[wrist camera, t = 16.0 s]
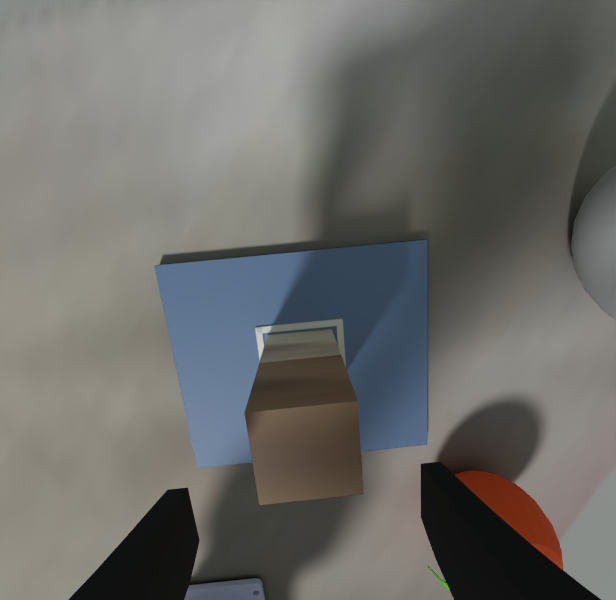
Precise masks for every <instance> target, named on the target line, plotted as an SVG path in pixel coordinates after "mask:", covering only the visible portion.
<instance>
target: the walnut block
mask: <svg viewBox="0 0 616 600" xmlns="http://www.w3.org/2000/svg"><path fill="white" fill-rule="evenodd" d="M244 414H245V420H246V426H247V432H248V439H249V445H250V451H251V457H252V463H253V470H254V476H255V482H256V488H257V494H258V500H259V505H266V504H275V503H285V502H294V501H304V500H313V499H323V498H332V497H342V496H351V495H360V494H363V480H362V464H361V447H360V431H359V415H358V401H357V398H356V395H355V392H354V389H353V387H352V384H351V381H350V378H349V375H348V372H347V370H346V367H345V364H344V361H343V358H342V355H334V356H324V357H314V358H304V359H294V360H285V361H275V362H265V363H259V366H258V369H257V373H256V376H255V379H254V382H253V386H252V389H251V392H250V396H249V399H248V402H247V405H246V409H245V412H244Z"/></svg>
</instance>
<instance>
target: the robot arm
mask: <svg viewBox="0 0 616 600" xmlns="http://www.w3.org/2000/svg"><path fill="white" fill-rule="evenodd" d="M421 518H422V521H423V524H424V527H425V530H426V533H427V536H428V539H429V541H430V544H431V547H432V550H433V552H434V555H435V558H436V560H437V563H438V565H439V567H440V569H441V572H442V574H443V576H444V578H445V580H446V583H447V585H448V587H449V589H450V591H451V594H452V596H453V598H454V600H601V599H599V598H598V597H597V596H595V595H594V594H593V593H591V592H590V591H589V590H587V589H586V588H585V587H583V586H582V585H581V584H580V583H578V582H577V581H576V580H575V579H573V578H572V577H571V576H570V575H568V574H567V573H566V572H564V571H563V570H562V569H561V568H559V567H558V566H557V565H556V564H555V563H553V562H552V561H551V560H550V559H549V558H547V557H546V556H545V555H544V554H542V553H541V552H540V551H539V550H538V549H536V548H535V547H534V546H533V545H532V544H531V543H529V542H528V541H527V540H526V539H525V538H524V537H522V536H521V535H520V534H519V533H518V532H517V531H515V530H514V529H513V528H512V527H511V526H510V525H509V524H508V523H506V522H505V521H504V520H503V519H502V518H501V517H500V516H498V515H497V514H496V513H495V512H494V511H493V510H492V509H491V508H490V507H488V506H487V505H486V504H485V503H484V502H483V501H482V500H481V499H480V498H479V497H478V496H477V495H475V494H474V493H473V492H472V491H471V490H470V489H469V488H468V487H467V486H466V485H465V484H464V483H463V482H462V481H461V480H460V479H458V478H457V477H456V476H455V475H454V474H453V473H452V472H451V471H450V470H449V469H448V468H447V467H446V466H445V465H444V464H442V463H441V462H434V463H424V464H421ZM198 545H199V536H198V532H197V527H196V523H195V519H194V514H193V510H192V505H191V501H190V496H189V492H188V488H180V489H171V490H167V491H166V492H165V493H164V495H163V496H162V497H161V498H160V499H159V500H158V501H157V502H156V504H155V505H154V506H153V507H152V508H151V509H150V510H149V512H148V513H147V514H146V515H145V516H144V517H143V518H142V520H141V521H140V522H139V523H138V524H137V525H136V526H135V528H134V529H133V530H132V531H131V532H130V533H129V534H128V536H127V537H126V538H125V539H124V540H123V541H122V542H121V543H120V545H119V546H118V547H117V548H116V549H115V550H114V551H113V552H112V553H111V555H110V556H109V557H108V558H107V559H106V560H105V561H104V562H103V563H102V565H101V566H100V567H99V568H98V569H97V570H96V571H95V572H94V573H93V574H92V575H91V577H90V578H89V579H88V580H87V581H86V582H85V583H84V584H83V585H82V586H81V587H80V588H79V589H78V590H77V591H76V592H75V593H74V594H73V595H72V597H71V598H70V599H69V600H265V596H264V590H263V584H262V581H261V580H260V579H258V578H253V579H244V580H234V581H225V582H215V583H206V584H196V585H189V583H190V579H191V575H192V571H193V567H194V563H195V558H196V554H197V549H198Z"/></svg>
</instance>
